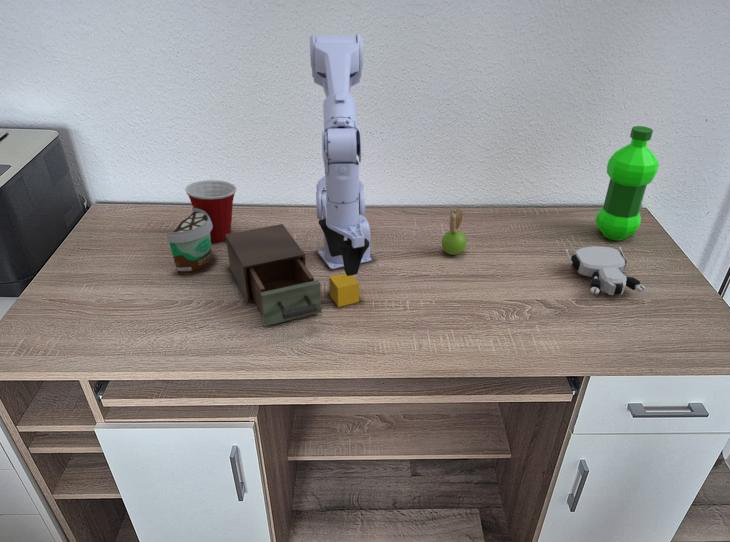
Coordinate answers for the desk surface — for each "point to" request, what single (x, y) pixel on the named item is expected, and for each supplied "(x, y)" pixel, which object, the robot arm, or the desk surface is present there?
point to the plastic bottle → (627, 186)
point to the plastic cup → (214, 204)
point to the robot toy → (604, 269)
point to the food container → (192, 243)
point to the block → (344, 289)
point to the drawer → (284, 291)
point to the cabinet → (259, 251)
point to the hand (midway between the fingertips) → (343, 264)
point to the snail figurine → (454, 235)
